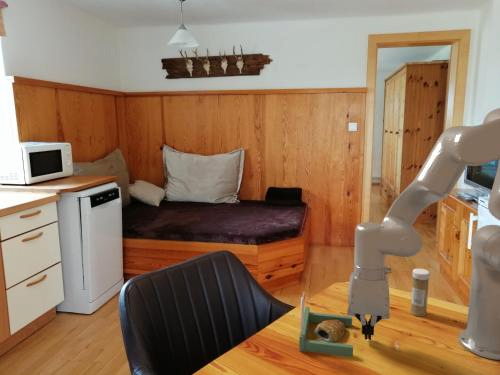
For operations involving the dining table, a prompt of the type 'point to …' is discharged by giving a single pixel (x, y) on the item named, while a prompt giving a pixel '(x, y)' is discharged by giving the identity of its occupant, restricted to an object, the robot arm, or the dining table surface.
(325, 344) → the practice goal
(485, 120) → the robot arm
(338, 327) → the pastry
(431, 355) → the dining table surface
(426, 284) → the sprinkles bottle
